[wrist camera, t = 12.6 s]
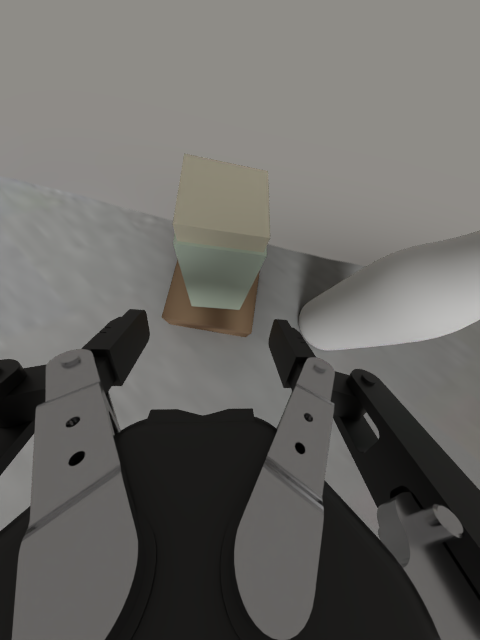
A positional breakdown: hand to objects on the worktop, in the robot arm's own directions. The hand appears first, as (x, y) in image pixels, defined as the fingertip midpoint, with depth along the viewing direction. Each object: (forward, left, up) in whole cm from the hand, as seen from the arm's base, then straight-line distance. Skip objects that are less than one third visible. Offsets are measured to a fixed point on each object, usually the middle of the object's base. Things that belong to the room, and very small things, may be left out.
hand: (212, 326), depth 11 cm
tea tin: (-1, +6, -8) cm, 10 cm away
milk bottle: (+15, +6, -12) cm, 20 cm away
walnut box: (-1, +7, -12) cm, 14 cm away
